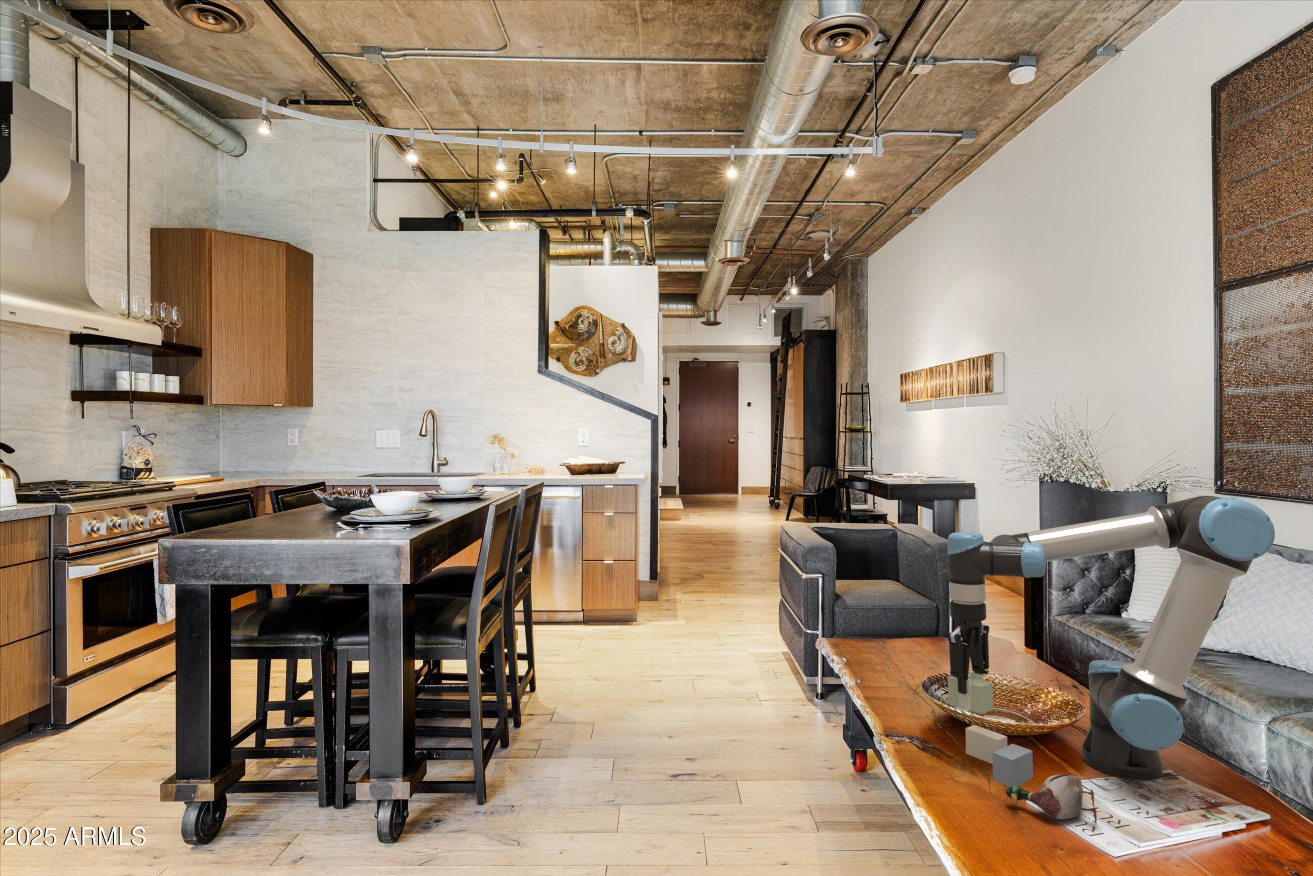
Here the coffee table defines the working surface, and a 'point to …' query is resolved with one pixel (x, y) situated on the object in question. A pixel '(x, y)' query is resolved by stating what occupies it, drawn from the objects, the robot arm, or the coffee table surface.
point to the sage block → (973, 694)
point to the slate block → (1012, 765)
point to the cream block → (983, 743)
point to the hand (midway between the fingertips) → (971, 704)
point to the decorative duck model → (1056, 796)
